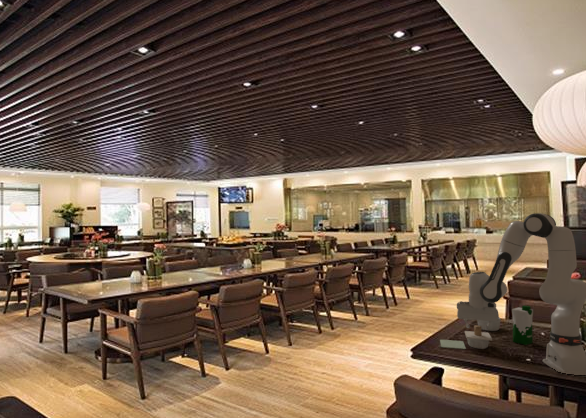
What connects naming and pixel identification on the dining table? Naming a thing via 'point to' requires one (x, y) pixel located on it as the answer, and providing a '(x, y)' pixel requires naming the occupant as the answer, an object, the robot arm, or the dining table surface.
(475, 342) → the ramekin
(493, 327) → the ramekin
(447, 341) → the mat
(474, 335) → the cover
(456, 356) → the dining table surface
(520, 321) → the milk carton
